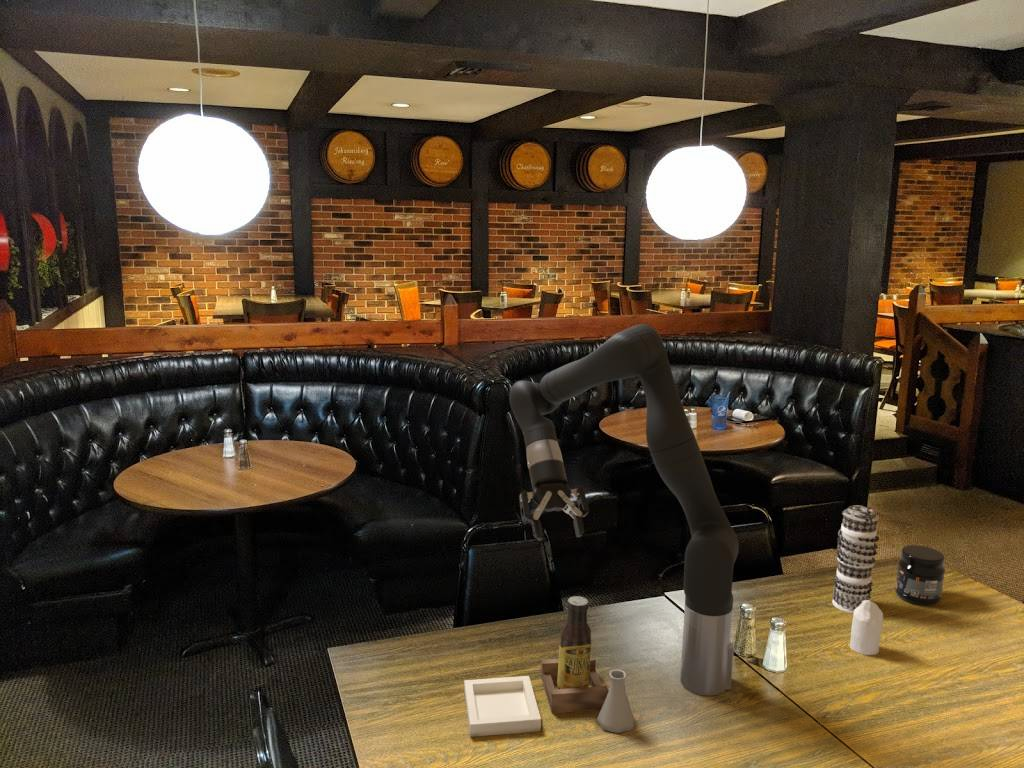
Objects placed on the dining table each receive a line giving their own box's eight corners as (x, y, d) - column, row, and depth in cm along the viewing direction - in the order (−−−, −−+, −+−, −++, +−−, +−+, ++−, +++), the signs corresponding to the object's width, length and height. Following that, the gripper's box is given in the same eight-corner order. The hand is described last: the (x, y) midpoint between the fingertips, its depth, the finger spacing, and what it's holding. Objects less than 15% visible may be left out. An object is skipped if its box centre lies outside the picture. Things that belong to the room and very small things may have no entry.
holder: (593, 673, 164) (593, 656, 164) (607, 708, 153) (608, 690, 152) (540, 677, 163) (541, 659, 162) (551, 713, 151) (552, 694, 150)
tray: (528, 686, 160) (528, 675, 159) (540, 731, 146) (540, 719, 146) (464, 691, 158) (464, 680, 157) (470, 736, 144) (470, 724, 144)
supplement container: (905, 583, 206) (911, 540, 203) (948, 598, 198) (954, 553, 195) (886, 595, 199) (891, 551, 197) (929, 611, 191) (935, 565, 189)
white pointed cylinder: (882, 594, 174) (887, 606, 169) (876, 644, 177) (881, 657, 171) (853, 591, 175) (857, 603, 170) (847, 640, 178) (851, 653, 173)
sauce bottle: (562, 704, 154) (565, 610, 150) (552, 686, 160) (554, 595, 156) (594, 699, 156) (597, 606, 152) (583, 681, 162) (586, 591, 157)
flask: (637, 734, 145) (640, 685, 143) (598, 733, 145) (599, 685, 143) (632, 710, 152) (634, 663, 150) (595, 709, 153) (596, 662, 150)
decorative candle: (874, 602, 195) (885, 506, 190) (868, 618, 188) (879, 519, 182) (834, 593, 200) (844, 499, 195) (827, 608, 193) (837, 510, 187)
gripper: (518, 459, 165) (531, 534, 157) (582, 456, 169) (598, 528, 161) (510, 474, 171) (522, 546, 164) (571, 470, 175) (587, 540, 168)
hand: (560, 537), depth 163 cm, fingers open, 8 cm apart
